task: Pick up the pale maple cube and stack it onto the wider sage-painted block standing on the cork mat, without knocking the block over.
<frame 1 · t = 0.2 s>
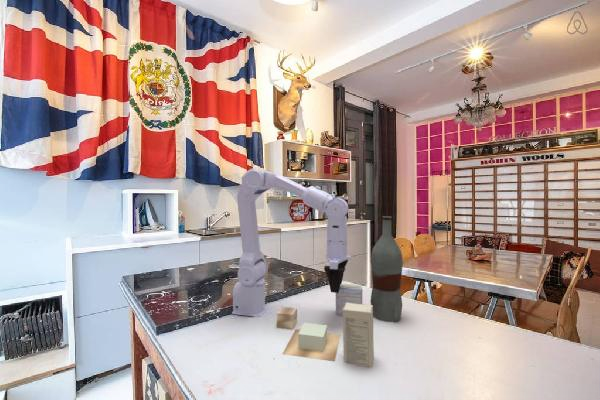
hand: (336, 287, 83), 10 cm above the worktop, tool pointing down, fingers open, 7 cm apart
bottle: (385, 317, 87), on the worktop
maple cube: (287, 326, 81), on the worktop
skincare box: (358, 362, 64), on the worktop
cork mat: (313, 345, 71), on the worktop
medicine box: (348, 314, 89), on the worktop
sage block: (313, 343, 71), resting on cork mat
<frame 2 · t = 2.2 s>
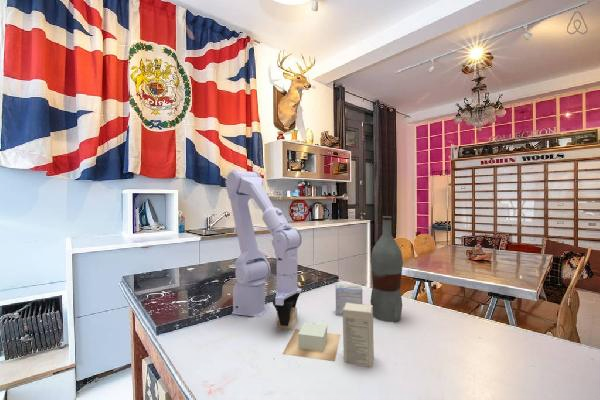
hand: (287, 321, 81), 1 cm above the worktop, tool pointing down, fingers closed on maple cube, 4 cm apart
maple cube: (287, 326, 81), on the worktop, touching gripper
everything else where it was.
when the fingers open (6 cm above the worktop, at t = 4.9 s): maple cube stays where it is, resting on sage block.
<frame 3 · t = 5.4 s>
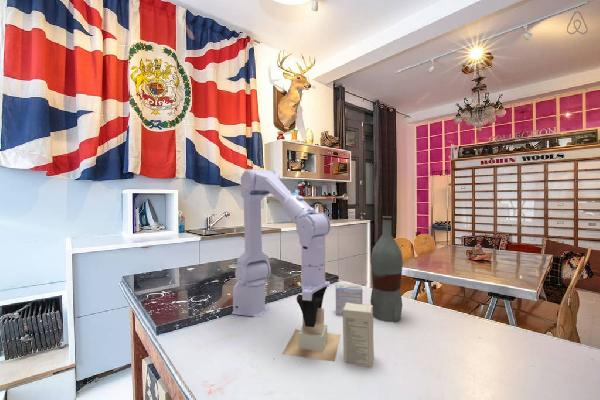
hand: (313, 318, 71), 7 cm above the worktop, tool pointing down, fingers open, 7 cm apart
maple cube: (313, 329, 71), point 4 cm above the worktop, touching sage block
sage block: (313, 343, 71), resting on cork mat, touching maple cube
everything else where it was.
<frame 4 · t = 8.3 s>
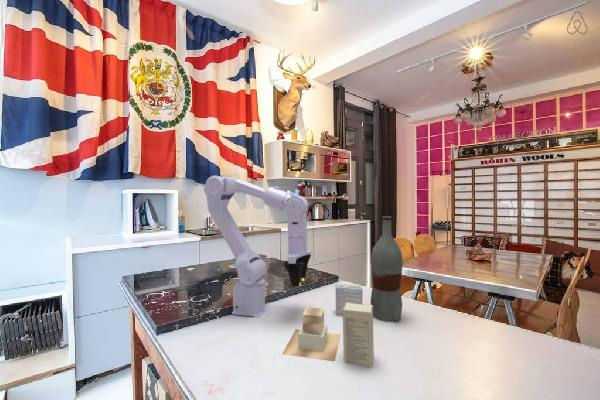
hand: (298, 281, 87), 10 cm above the worktop, tool pointing down, fingers open, 7 cm apart
nothing on the worktop moved.
at the end: maple cube 0.1 cm off-centre on the sage block, point 3.5 cm above the sage block's base; sage block tilted 0°; maple cube tilted 0° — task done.
